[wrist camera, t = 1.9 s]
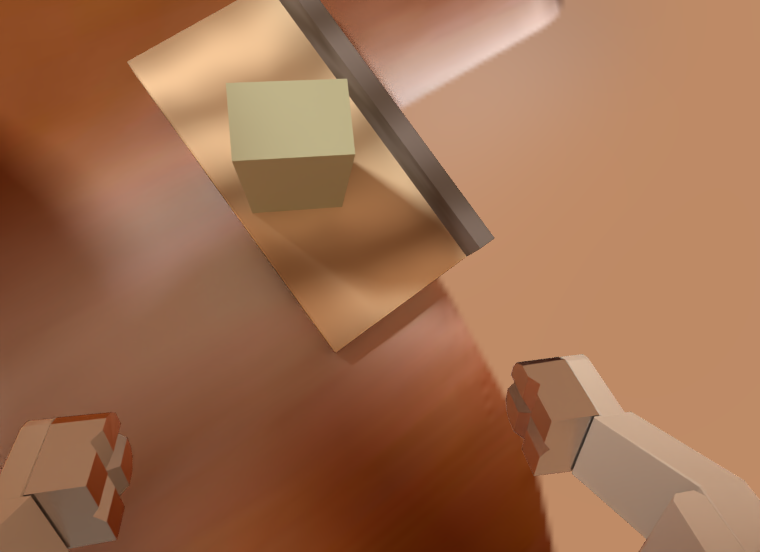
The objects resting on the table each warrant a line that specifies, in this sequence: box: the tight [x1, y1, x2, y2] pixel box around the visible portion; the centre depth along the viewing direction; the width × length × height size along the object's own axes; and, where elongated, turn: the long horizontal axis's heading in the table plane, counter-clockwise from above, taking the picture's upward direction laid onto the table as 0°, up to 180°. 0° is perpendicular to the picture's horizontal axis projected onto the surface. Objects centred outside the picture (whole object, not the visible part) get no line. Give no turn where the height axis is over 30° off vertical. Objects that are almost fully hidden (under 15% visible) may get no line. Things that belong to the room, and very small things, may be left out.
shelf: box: [127, 0, 494, 353], centre depth 36 cm, size 24×13×4 cm, turn 36°
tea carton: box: [226, 79, 355, 213], centre depth 31 cm, size 4×6×10 cm
